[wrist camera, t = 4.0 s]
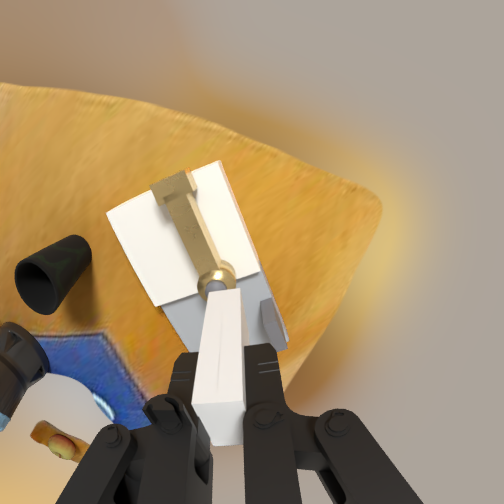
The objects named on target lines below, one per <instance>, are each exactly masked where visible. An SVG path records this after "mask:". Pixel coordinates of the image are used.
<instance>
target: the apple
mask: <svg viewBox="0 0 504 504" xmlns="http://www.w3.org/2000/svg"><path fill="white" fill-rule="evenodd" d="M48 446H49V449H50V450H51V452H52V453H54V454H55V455H57V456H58V457H59V458H62V459H66V460H70V459H72V458H73V457H74V455H75V452H76V450H75V446H74V444H73V443H72V442H71V441H70V440H69V439H68V438H66V437H65V436H62V435H58V434H56V435H53V436H51V437H50V439H49V441H48Z"/></svg>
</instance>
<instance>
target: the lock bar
mask: <svg viewBox="0 0 504 504" xmlns="http://www.w3.org/2000/svg"><path fill="white" fill-rule="evenodd" d="M150 188H151V191H152V193H153V195H154V197H155V200H156V202H157V204H158V206H161V205H163V204H166V206H167V209H168V211H169V213H170V215H171V218H172V220H173V222H174V224H175V226H176V228H177V231H178V233H179V235H180V237H181V239H182V241H183V244H184V246H185V248H186V250H187V252H188V254H189V256H190V258H191V260H192V262H193V264H194V266H195V269H196V271H197V273H198V275H199V279H198V283H197V290H198V293H199V295H200V296H201V298H202V299H203V300H205V301H206V302H207V300H208V298H207V297H206V295H205V288H206V285H207V283H208V282H210V281H212V280H220V281H222V282H224V283H225V284H226V286H227V290H229V289H236V272H235V269H234V268H233V266H232V265H231V264H230V263H228V262H227V261H224V260H221V258H220V256H219V253H218V251H217V249H216V247H215V244H214V242H213V240H212V238H211V235H210V233H209V231H208V228H207V226H206V224H205V221H204V219H203V217H202V215H201V212H200V210H199V208H198V205H197V203H196V201H195V198H194V196H193V193H192V192H194V190H195V189H196V188H197V185H196V182H195V180H194V177H193V175H192V172H191V170H190V168H189V167H188V168H186V169H184V170H182V171H179V172H177V173H175V174H172V175H170V176H168V177H166V178H164V179H161V180H159V181H157V182H155V183H153V184H151V185H150Z"/></svg>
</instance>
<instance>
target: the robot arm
mask: <svg viewBox="0 0 504 504" xmlns="http://www.w3.org/2000/svg"><path fill="white" fill-rule="evenodd" d="M48 369H49V362H48V359H47V356H46V354H45V352H44V351H43V349H42V347H41V346H40V345H39V343H38V342H37V341H36V340H35V339H34V337H33V336H32V335H31V334H30V333H28V332H27V331H26V330H25V329H24V328H22V327H21V326H19V325H17V324H15V323H12V322H6V323H4V324H3V325H2V326H1V327H0V432H1V431H3V430H4V429H5V427H6V425H7V424H8V422H9V421H10V420H11V417H12V415H13V413H14V412H15V410H16V408H17V406H18V404H19V403H20V401H21V399H22V397H23V396H24V394H25V392H26V390H27V389H28V388H29V387H30V386H32V385H33V384H35V383H36V382H38V381H39V380H40V379H42V378H43V377H44V376H45V374H46V373H47V371H48ZM172 372H173V374H172V376H171V382H170V384H169V389H168V393H167V394H162V395H157V396H155V397H153V398H151V399H150V400H149V401H148V402H147V403H145V405H144V407H143V409H142V410H143V412H144V413H145V415H146V416H147V418H148V419H149V420H150V422H151V423H152V424H151V425H149V426H146V427H143V428H138V429H134V430H128V429H127V428H126V427H125V426H123V425H121V424H110V425H107V426H105V427H104V428H102V429H101V430H100V432H98V434H97V435H96V437H95V439H94V440H93V442H92V444H91V445H90V447H89V448H88V450H87V452H86V453H85V455H84V456H83V458H82V460H81V461H80V463H79V465H78V466H77V468H76V470H75V471H74V473H73V475H72V476H71V478H70V480H69V481H68V483H67V485H66V486H65V488H64V490H63V492H62V493H61V495H60V497H59V498H58V500H57V502H56V503H55V504H212V480H213V457H212V454H211V452H210V441H211V442H212V444H213V446H229V445H244V475H245V503H246V504H302V500H301V493H300V487H299V481H298V475H297V469H305V470H314V471H315V472H316V473H317V475H318V477H319V479H320V481H321V482H322V484H323V486H324V488H325V490H326V491H327V493H328V495H329V497H330V498H331V500H332V502H333V504H423V502H422V501H421V500H420V498H419V497H418V496H417V494H416V493H415V492H414V491H413V490H412V488H411V487H410V485H409V484H408V483H407V482H406V480H405V479H404V477H403V476H402V475H401V473H400V472H399V471H398V470H397V468H396V467H395V466H394V464H393V463H392V462H391V460H390V459H389V458H388V456H387V455H386V454H385V452H384V451H383V450H382V448H381V447H380V446H379V444H378V443H377V442H376V440H375V439H374V438H373V436H372V435H371V433H370V432H369V431H368V429H367V428H366V427H365V425H364V424H363V423H362V421H361V420H360V419H359V418H358V416H356V415H355V414H354V413H353V412H352V411H349V410H346V409H333V410H329V411H327V412H325V413H323V414H322V415H320V417H313V416H304V415H299V414H297V413H295V412H293V411H292V410H290V409H289V407H288V406H287V405H286V403H285V399H284V393H283V387H282V381H281V375H280V370H279V363H278V358H277V352H276V350H275V348H274V347H273V346H272V345H271V344H270V343H263V344H256V345H249V331H248V326H247V321H246V316H245V310H244V305H243V300H242V294H241V289H240V288H236V289H229V290H222V291H214V292H209V294H208V300H207V306H206V312H205V318H204V324H203V330H202V336H201V342H200V349H199V352H188V353H181V354H180V356H179V357H178V358H177V360H176V361H175V363H174V367H173V371H172Z"/></svg>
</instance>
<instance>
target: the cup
mask: <svg viewBox="0 0 504 504" xmlns="http://www.w3.org/2000/svg"><path fill="white" fill-rule="evenodd" d="M91 258H92V253H91V249H90V246H89V244H88V243H87V241H86V240H85V239H84V238H82V237H81V236H79V235H70V236H68V237H66V238H64V239H62V240H60V241H58V242H56V243H54V244H52V245H50V246H48V247H46V248H44V249H42V250H40V251H38V252H36V253H34V254H32V255H31V256H29V257H27V258H25V259H23V260H21V261H20V262H19V263H18V264H17V266H16V269H15V284H16V287H17V290H18V292H19V294H20V296H21V298H22V299H23V301H24V302H25V303H26V304H27V305H28V306H29V307H30V308H31V309H32V310H34V311H35V312H37V313H39V314H43V315H50V314H52V313H54V312H55V311H56V310H57V308H58V307H59V305H60V304H61V302H62V301H63V299H64V298H65V296H66V295H67V294H68V292H69V291H70V289H71V288H72V286H73V285H74V284H75V282H76V281H77V280H78V278H79V277H80V275H81V274H82V273H83V271H84V270H85V269H86V267H87V266H88V265H89V263H90V261H91Z"/></svg>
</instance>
